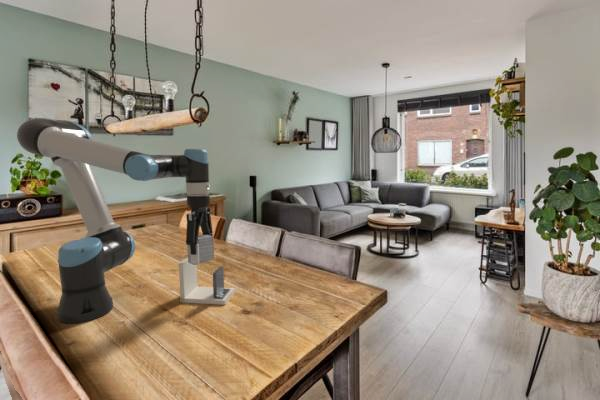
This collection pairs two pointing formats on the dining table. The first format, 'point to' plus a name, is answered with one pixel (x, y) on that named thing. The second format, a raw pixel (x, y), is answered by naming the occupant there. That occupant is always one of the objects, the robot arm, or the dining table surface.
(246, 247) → the dining table surface
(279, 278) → the dining table surface
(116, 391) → the dining table surface
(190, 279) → the white l-shaped stand
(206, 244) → the medicine box
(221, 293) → the bookend
